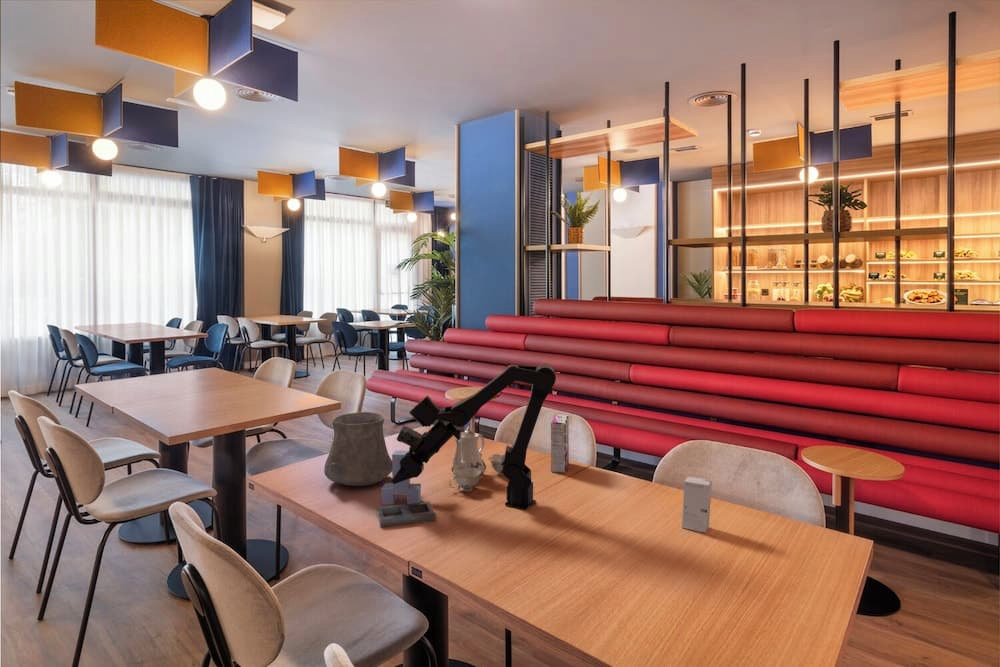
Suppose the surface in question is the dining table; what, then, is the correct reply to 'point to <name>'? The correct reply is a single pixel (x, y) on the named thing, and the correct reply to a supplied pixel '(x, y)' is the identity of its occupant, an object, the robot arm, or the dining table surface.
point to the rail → (405, 514)
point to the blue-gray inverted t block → (400, 484)
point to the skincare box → (696, 504)
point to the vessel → (358, 450)
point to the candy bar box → (559, 443)
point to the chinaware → (471, 461)
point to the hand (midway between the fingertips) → (396, 477)
